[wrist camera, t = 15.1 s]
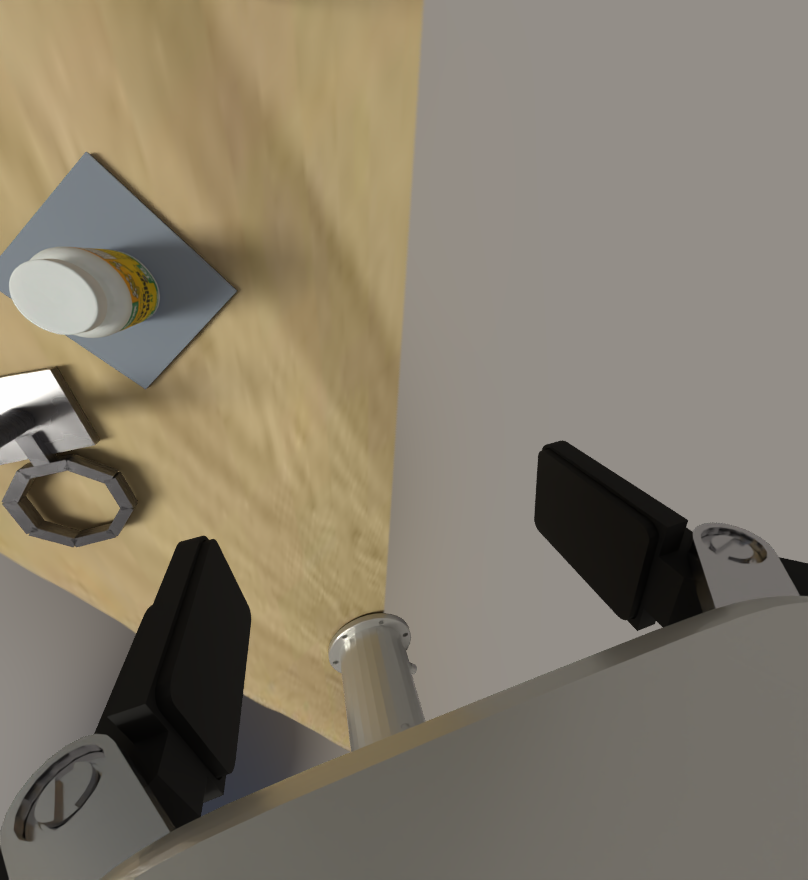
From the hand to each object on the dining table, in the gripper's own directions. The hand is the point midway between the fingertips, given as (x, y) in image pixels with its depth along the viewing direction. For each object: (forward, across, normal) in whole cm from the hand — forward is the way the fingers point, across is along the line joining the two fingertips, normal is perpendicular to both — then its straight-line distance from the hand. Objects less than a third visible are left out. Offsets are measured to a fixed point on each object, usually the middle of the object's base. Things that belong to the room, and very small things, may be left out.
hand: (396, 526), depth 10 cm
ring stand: (+28, +26, +6) cm, 39 cm away
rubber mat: (+28, +14, -7) cm, 33 cm away
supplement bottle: (+28, +14, -7) cm, 32 cm away
